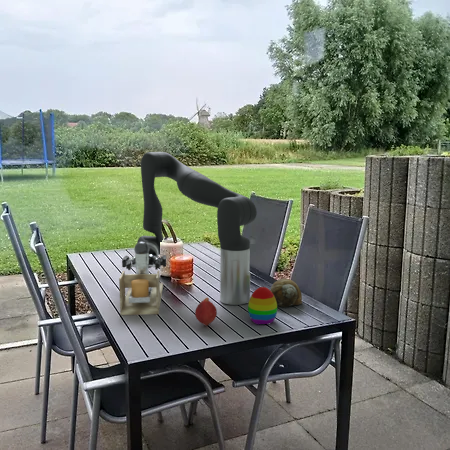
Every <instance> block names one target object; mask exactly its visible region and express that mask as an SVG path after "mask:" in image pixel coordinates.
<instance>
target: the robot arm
mask: <svg viewBox="0 0 450 450" xmlns="http://www.w3.org/2000/svg"><path fill="white" fill-rule="evenodd" d="M140 174H141V185H142V196H143V217H142V220H143V221H142V228H143V230H144V231H146V232H147V233H148V232H149V233H151V234H154V236H153V235H152V236H151V235H141V236H139V238H138V239H137V242H136V244H137V243H139V242H145V243H147V244H148V246H149V252H148V254H149V269H151V268H155V271H159V270H158V269H160V268H161V266H162V267H163V268H165V267H167V255H165V254H163V255H161V254H160V242H162V240H163V239H164V235H163V229H162V228H163V207H162V203H161V201H160V199H159V197H158V195H157V192H156V188H155V180H156V178H168V179H171V180H173V181H174V182H176V186H177V189H178V191H179V192H180V193H181V194H182V195H183V196H185V197H187V198H188V199H190V200H191V201H193V202H195V203H198V204H201V205H205V206H208V207H209V206H210V207H212V208H216V209H217V210H216V212H217V213H216V214H217V215H216V218H217V219H216V221H217V223H216V225H217V238H218V240H219V245H220V246H219V247H220V248H219V249H220V250H219V251H220V252H219V253H220V255H219V256H220V257H219V258H220V259H219V261H220V265H219V266H220V267H219V268H220V269H219V271H220V272H219V278H220V279H219V281H220V282H219V283H220V284H219V301H220V302H221V303H223V304H225V305H231V306H233V305H234V306H238V305H244V304H249V300H250V297H251V272H250V261H251V260H250V256H251V253H250V249H251V248H250V247H251V244H250V243H251V241H250V239H249V238H248V237H245V236H243V235H242V233H241V227H243V226H246V225H250V224H251V223H253V222H254V221H255V219H256V218H257V213H258V212H257V207H256V205H255V203H254V201H252V199H251V198H249V197H247V196H245V195H243V194H240V193H238V192H235V191H232V190H231V189H228V188H227V187H224V186H223V185H221V184H219V183H218V182H216V181H214V180H212V179H211V178H209V177H208V176H206V175H204V174H202V173H200V172H198V171H197V170H195V169H193V168H191V167H189V166H188V165H185V164H184V163H182V162H181V161H179V160H178V159H177V158H176V157H175V156H173V155H172V154H170V153H169V152H165V151H149V152H148V151H147V152H145V153H143V155H142V157H141V161H140ZM159 256H160V257H159ZM121 265H122V266H121V268H125V269H126V270H128V271H131V269H132V268H135V269H136V256H135V255H134V256H132V257H130V256H129V255H125V256H123V258H122V259H121Z"/></svg>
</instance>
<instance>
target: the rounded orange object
mask: <svg viewBox="0 0 450 450" xmlns="http://www.w3.org/2000/svg"><path fill="white" fill-rule="evenodd" d="M131 287H132V296H134V297H144V296H147V295H149V281H148V280H146V279H136V280H133V281H131Z"/></svg>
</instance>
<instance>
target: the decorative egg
mask: <svg viewBox="0 0 450 450" xmlns="http://www.w3.org/2000/svg"><path fill="white" fill-rule="evenodd" d="M270 290H271V289H269V288H268V287H266V286H261V287H258V288H256V289H255V290H254V291H253V292H252V294H250V300H249V303H247V304H248V305H247V311H248V316H249V318H250V320H251V322H252V323H254V324H256V325H259V324H267V325H270V324H272V323H273V322H274V321H275V319H276V316H277V313H278V305H277V302H276V299H275V297H274V295H273V293H272V292H271V291H270ZM269 323H270V324H269Z"/></svg>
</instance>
